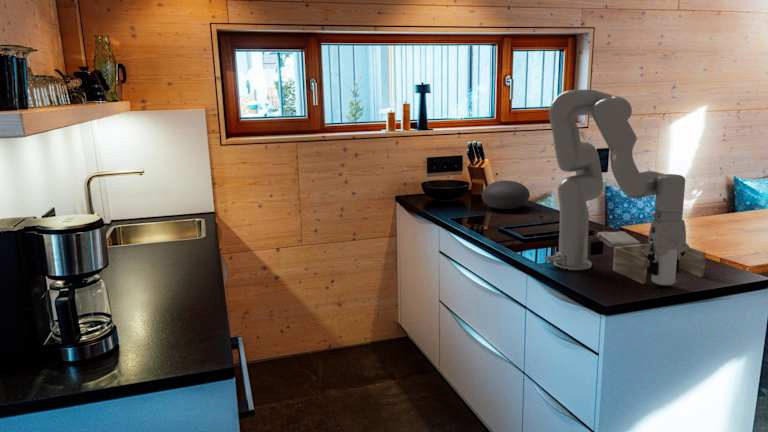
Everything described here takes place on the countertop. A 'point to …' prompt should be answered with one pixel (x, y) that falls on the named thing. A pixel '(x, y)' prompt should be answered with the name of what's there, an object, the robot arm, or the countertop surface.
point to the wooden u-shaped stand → (636, 263)
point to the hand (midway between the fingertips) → (663, 272)
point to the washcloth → (617, 239)
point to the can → (666, 269)
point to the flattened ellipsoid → (505, 195)
